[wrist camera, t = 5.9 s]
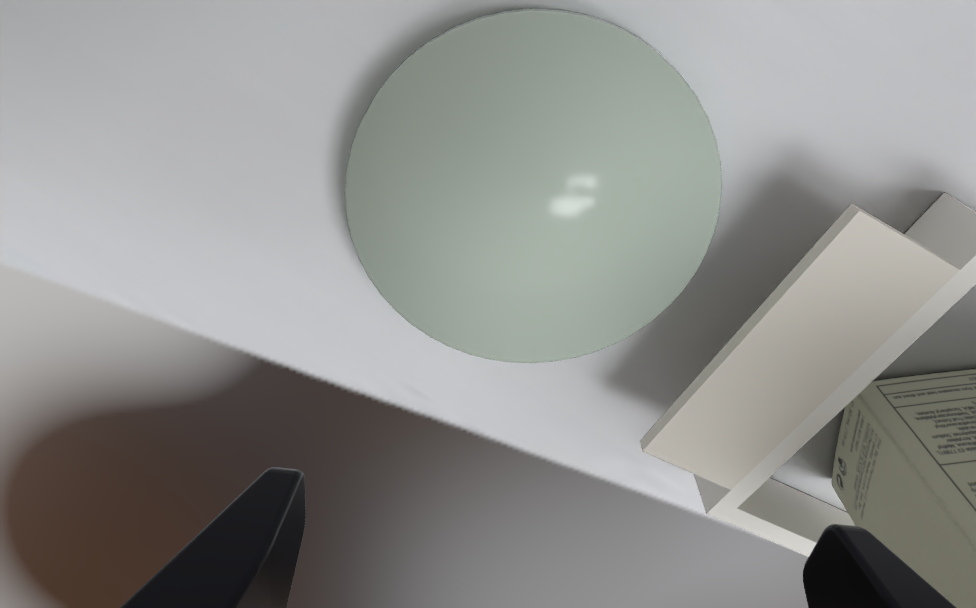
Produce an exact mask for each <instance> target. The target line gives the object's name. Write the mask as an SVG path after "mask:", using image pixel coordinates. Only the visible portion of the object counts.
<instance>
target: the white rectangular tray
mask: <svg viewBox="0 0 976 608" xmlns="http://www.w3.org/2000/svg"><path fill="white" fill-rule="evenodd" d="M975 285H976V211H974V210H972V209H971V208H969V207H968V206H966V205H964V204H963V203H961V202H960V201H958V200H956V199H955V198H953V197H952V196H950V195H948V194H947V193H945V192H944V193H943V194H942V195H941V196H940V198H939V199H938V200H937V201H936V202H935V203H934V204H933V205H932V206H931V207H930V208H929V209H928V210H927V211H926V212H925V213H924V214H923V215H922V216H921V217H920V218H919V219H918V220H917V221H916V223H915V224H914V225H913V226H912V227H911V228H910V229H909V230H908V231H907V232H906V233H905V234H903V233H901V232H899V231H898V230H896V229H894V228H893V227H891V226H889V225H888V224H886V223H884V222H883V221H881V220H879V219H878V218H876V217H874V216H872V215H871V214H869V213H867V212H866V211H864V210H862V209H861V208H859V207H857V206H856V205H854V204H852V203H851V204H850V206H849V207H848V208H847V209H846V210H845V211H844V212H843V213H842V215H841V216H840V217H839V218H838V219H837V220H836V221H835V222H834V223H833V225H832V226H831V227H830V228H829V229H828V230H827V231H826V232H825V234H824V235H823V236H822V237H821V238H820V239H819V240H818V241H817V243H816V244H815V245H814V246H813V247H812V248H811V249H810V250H809V252H808V253H807V254H806V255H805V256H804V257H803V258H802V259H801V261H800V262H799V263H798V264H797V265H796V266H795V267H794V268H793V270H792V271H791V272H790V273H789V274H788V275H787V276H786V277H785V279H784V280H783V281H782V282H781V283H780V284H779V285H778V286H777V287H776V289H775V290H774V291H773V292H772V293H771V294H770V295H769V296H768V298H767V299H766V300H765V301H764V302H763V303H762V304H761V305H760V307H759V308H758V309H757V310H756V311H755V312H754V313H753V314H752V316H751V317H750V318H749V319H748V320H747V321H746V322H745V323H744V325H743V326H742V327H741V328H740V329H739V330H738V331H737V332H736V334H735V335H734V336H733V337H732V338H731V339H730V340H729V341H728V343H727V344H726V345H725V346H724V347H723V348H722V349H721V350H720V351H719V353H718V354H717V355H716V356H715V357H714V358H713V359H712V360H711V362H710V363H709V364H708V365H707V366H706V367H705V368H704V369H703V371H702V372H701V373H700V374H699V375H698V376H697V377H696V378H695V380H694V381H693V382H692V383H691V384H690V385H689V386H688V387H687V389H686V390H685V391H684V392H683V393H682V394H681V395H680V396H679V398H678V399H677V400H676V401H675V402H674V403H673V404H672V405H671V407H670V408H669V409H668V410H667V411H666V412H665V413H664V414H663V415H662V417H661V418H660V419H659V420H658V421H657V422H656V423H655V424H654V426H653V427H652V428H651V429H650V430H649V431H648V432H647V433H646V435H645V436H644V437H643V438H642V439H641V440H640V444H641V448H642V451H643V452H645V453H648V454H650V455H652V456H654V457H657V458H659V459H661V460H663V461H666V462H668V463H670V464H673V465H675V466H677V467H679V468H682V469H684V470H686V471H689V472H691V473H693V474H694V477H695V480H696V483H697V486H698V489H699V492H700V495H701V498H702V501H703V505H704V508H705V511H706V514H708V515H710V516H713V517H715V518H717V519H720V520H722V521H725V522H727V523H729V524H732V525H734V526H736V527H739V528H741V529H743V530H746V531H748V532H751V533H753V534H755V535H758V536H760V537H762V538H765V539H767V540H769V541H772V542H774V543H777V544H779V545H781V546H784V547H786V548H788V549H791V550H793V551H795V552H798V553H800V554H803V555H805V556H807V557H809V556H810V554H811V552H812V550H813V548H814V547H815V545H816V543H817V541H818V540H819V538H820V536H821V534H822V532H823V531H824V529H825V528H826V527H828V526H829V525H831V524H840V525H850V526H855V524H854V522H853V521H852V519H851V517H850V515H849V514H848V513H847V512H845V511H842V510H840V509H838V508H836V507H834V506H831V505H829V504H827V503H825V502H822V501H820V500H818V499H816V498H814V497H811V496H809V495H807V494H805V493H803V492H800V491H798V490H796V489H794V488H791V487H789V486H787V485H785V484H783V483H780V482H778V481H776V480H774V479H771V478H770V477H771V476H772V475H773V474H774V473H775V472H776V471H777V470H778V469H779V468H780V467H781V466H782V465H783V464H785V463H786V462H787V461H788V460H789V459H790V458H791V457H792V456H793V455H794V454H795V453H796V452H797V451H798V450H800V449H801V448H802V447H803V446H804V445H805V444H806V443H807V442H808V441H809V440H810V439H811V438H812V437H813V436H814V435H816V434H817V433H818V432H819V431H820V430H821V429H822V428H823V427H824V426H825V425H826V424H827V423H828V422H829V421H830V420H832V419H833V418H834V417H835V416H836V415H837V414H838V413H839V412H840V411H841V410H842V409H843V408H844V407H845V406H847V405H848V404H849V403H850V402H851V401H852V400H853V399H854V398H855V397H856V396H857V395H858V394H859V393H860V392H861V391H863V390H864V389H865V388H866V387H867V386H868V385H869V384H870V383H871V382H872V381H873V380H874V379H875V378H876V377H877V376H879V375H880V374H881V373H882V372H883V371H884V370H885V369H886V368H887V367H888V366H889V365H890V364H891V363H892V362H894V361H895V360H896V359H897V358H898V357H899V356H900V355H901V354H902V353H903V352H904V351H905V350H906V349H907V348H908V347H910V346H911V345H912V344H913V343H914V342H915V341H916V340H917V339H918V338H919V337H920V336H921V335H922V334H923V333H924V332H926V331H927V330H928V329H929V328H930V327H931V326H932V325H933V324H934V323H935V322H936V321H937V320H938V319H939V318H941V317H942V316H943V315H944V314H945V313H946V312H947V311H948V310H949V309H950V308H951V307H952V306H953V305H954V304H955V303H957V302H958V301H959V300H960V299H961V298H962V297H963V296H964V295H965V294H966V293H967V292H968V291H969V290H970V289H972V288H973V287H974V286H975Z"/></svg>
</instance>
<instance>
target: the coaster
mask: <svg viewBox="0 0 976 608" xmlns="http://www.w3.org/2000/svg"><path fill="white" fill-rule="evenodd" d="M721 189H722V181H721V163H720V158H719V153H718V148H717V143H716V139H715V136H714V133H713V130H712V128H711V125H710V122H709V119H708V117H707V115H706V113H705V111H704V109H703V107H702V106H701V104H700V102H699V100H698V98H697V96H696V95H695V93H694V92H693V91H692V89H691V88H690V87H689V85H688V84H687V83H686V81H685V80H684V79H683V77H682V76H681V75H680V74H679V73H678V72H677V70H676V69H675V68H674V67H673V66H672V65H671V64H670V63H669V62H668V61H666V60H665V59H664V58H663V57H662V56H661V55H660V54H659V53H658V52H657V51H656V50H655V49H653V48H652V47H651V46H649V45H648V44H646V43H645V42H644V41H642V40H641V39H640V38H638V37H637V36H635V35H634V34H632V33H630V32H628V31H626V30H624V29H622V28H620V27H618V26H616V25H614V24H612V23H610V22H607V21H604V20H601V19H598V18H595V17H592V16H589V15H586V14H581V13H576V12H570V11H565V10H560V9H538V8H529V9H519V10H509V11H502V12H498V13H494V14H490V15H486V16H482V17H478V18H475V19H473V20H470V21H468V22H465V23H462V24H460V25H457V26H455V27H452V28H451V29H449V30H447V31H445V32H444V33H442V34H440V35H438V36H437V37H435V38H433V39H431V40H430V41H428V42H427V43H426V44H424V45H423V46H422V47H420V48H419V49H418V50H417V51H415V52H414V53H413V54H411V55H410V56H409V57H408V58H407V59H406V60H405V61H404V62H403V63H402V64H401V65H400V66H399V67H398V68H397V69H396V70H395V71H394V72H393V73H392V74H391V75H390V77H389V78H388V79H387V81H386V82H385V83H384V85H383V86H382V87H381V89H380V90H379V91H378V93H377V94H376V96H375V97H374V99H373V101H372V102H371V104H370V106H369V108H368V110H367V112H366V114H365V115H364V117H363V119H362V121H361V123H360V125H359V128H358V131H357V133H356V136H355V139H354V141H353V144H352V147H351V152H350V156H349V161H348V166H347V171H346V186H345V200H346V213H347V220H348V224H349V229H350V233H351V238H352V241H353V243H354V246H355V249H356V252H357V254H358V257H359V259H360V261H361V263H362V265H363V267H364V269H365V271H366V273H367V275H368V276H369V278H370V280H371V281H372V282H373V284H374V285H375V287H376V288H377V290H378V291H379V292H380V294H381V295H382V296H383V297H384V298H385V300H386V301H387V302H388V303H389V304H390V305H391V306H392V307H393V308H394V309H395V311H397V312H398V313H399V314H400V315H401V316H402V317H404V318H405V319H406V320H407V321H408V322H409V323H411V324H412V325H413V326H415V327H416V328H418V329H419V330H421V331H422V332H424V333H425V334H427V335H428V336H430V337H431V338H433V339H435V340H437V341H439V342H441V343H443V344H445V345H447V346H449V347H452V348H454V349H457V350H460V351H462V352H465V353H468V354H471V355H475V356H479V357H483V358H487V359H492V360H499V361H505V362H519V363H538V362H553V361H559V360H564V359H570V358H575V357H579V356H582V355H586V354H589V353H593V352H596V351H598V350H601V349H603V348H605V347H608V346H610V345H613V344H615V343H617V342H619V341H621V340H623V339H624V338H626V337H628V336H630V335H632V334H634V333H635V332H637V331H638V330H640V329H641V328H642V327H644V326H645V325H647V324H648V323H650V322H651V321H652V320H654V319H655V318H656V317H657V316H658V315H659V314H660V313H662V312H663V311H664V310H665V309H666V308H667V307H668V306H669V305H670V304H671V303H672V302H673V301H674V300H675V299H676V298H677V297H678V295H679V294H680V293H681V292H682V291H683V290H684V288H685V287H686V286H687V284H688V283H689V281H690V280H691V279H692V277H693V276H694V274H695V273H696V271H697V269H698V268H699V266H700V264H701V262H702V260H703V258H704V256H705V255H706V253H707V250H708V247H709V245H710V242H711V239H712V237H713V234H714V232H715V227H716V223H717V219H718V214H719V210H720V200H721Z"/></svg>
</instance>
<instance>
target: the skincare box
mask: <svg viewBox="0 0 976 608" xmlns="http://www.w3.org/2000/svg"><path fill="white" fill-rule="evenodd" d="M832 486H833V488H834V490H835V491H836V493H837V495H838V497H839V498H840V500H841V502H842V503H843V505H844V507H845V508H846V510H847V512H848V514H849V515H850V517H851V519H852V521H853V522H854V524H855V526H859V527H862V528H864V529H866V530H867V531H869V532H870V533H871V534H872V535H874V536H875V537H876V538H877V539H878V540H879V541H881V542H882V543H883V544H884V545H885V546H886V547H887V548H889V549H890V550H891V551H892V552H893V553H894V554H895V555H897V556H898V557H899V558H900V559H901V560H902V561H904V562H905V563H906V564H907V565H908V566H909V567H910V568H912V569H913V570H914V571H915V572H916V573H917V574H918V575H920V576H921V577H922V578H923V579H924V580H925V581H927V582H928V583H929V584H930V585H931V586H932V587H933V588H935V589H936V590H937V591H938V592H939V593H940V594H941V595H943V596H944V597H945V598H946V599H947V600H948V601H949V602H951V603H952V604H953V605H954V606H955V607H956V608H976V369H971V370H962V371H952V372H943V373H934V374H926V375H916V376H909V377H900V378H892V379H886V380H877V381H872V382H871V383H870V384H869V385H868V386H867V387H866V388H865V389H864V390H863V391H861V392H860V393H859V394H858V395H857V396H856V397H855V398H854V399H853V400H852V401H851V402H850V403H849V404H848V405H847V406H845V409H844V413H843V418H842V422H841V427H840V432H839V437H838V442H837V448H836V453H835V460H834V467H833V475H832Z"/></svg>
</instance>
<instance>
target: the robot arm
mask: <svg viewBox="0 0 976 608" xmlns="http://www.w3.org/2000/svg"><path fill="white" fill-rule="evenodd" d="M305 515H306V509H305V477H304V474H303V472H302V471H300V470H297V469H286V468H277V467H272V468H269V469H267V470H266V471H265V472H264V473H262V474H261V476H259V477H258V478H257V479H256V480H255V481H254V482H253V483H252V484H251V485H250V486H249V487H248V488H247V489H245V491H243V492H242V493H241V494H240V495H239V496H238V497H237V498H236V499H235V500H234V501H233V502H232V503H231V504H230V505H229V506H227V507H226V508H225V509H224V510H223V511H222V512H221V513H220V514H219V515H218V516H217V517H216V518H215V519H214V520H213V521H212V522H210V523H209V524H208V525H207V526H206V527H205V528H204V529H203V530H202V531H201V532H200V533H199V534H198V535H197V536H196V537H194V538H193V539H192V540H191V541H190V542H189V543H188V544H187V545H186V546H185V547H184V548H183V549H182V550H181V551H180V552H179V553H178V554H177V555H176V556H175V557H173V558H172V559H171V560H170V561H169V562H168V563H167V564H166V565H165V566H164V567H163V568H162V569H160V570H159V571H158V572H157V573H156V574H155V575H154V576H153V577H152V578H151V579H150V580H149V581H148V582H147V583H146V584H145V585H144V586H142V587H141V588H140V589H139V590H138V591H137V592H136V593H135V594H134V595H133V596H132V597H131V598H130V599H129V600H128V601H126V602H125V603H124V604H123V605H122V606H121V607H120V608H287V603H288V599H289V594H290V590H291V585H292V581H293V577H294V573H295V568H296V564H297V560H298V555H299V551H300V547H301V542H302V538H303V533H304V528H305V518H306V516H305ZM803 583H804V588H805V593H806V598H807V602H808V607H809V608H956V607H955V606H954V605H953V604H952V603H951V602H949V601H948V600H947V599H946V598H945V597H944V596H943V595H941V594H940V593H939V592H938V591H937V590H936V589H935V588H933V587H932V586H931V585H930V584H929V583H928V582H927V581H925V580H924V579H923V578H922V577H921V576H920V575H918V574H917V573H916V572H915V571H914V570H913V569H912V568H910V567H909V566H908V565H907V564H906V563H905V562H904V561H902V560H901V559H900V558H899V557H898V556H897V555H895V554H894V553H893V552H892V551H891V550H890V549H889V548H887V547H886V546H885V545H884V544H883V543H882V542H881V541H879V540H878V539H877V538H876V537H875V536H874V535H872V534H871V533H870V532H869V531H867V530H866V529H864V528H862V527H859V526H850V525H840V524H831V525H829V526H828V527H826V528H825V529H824V531H823V532H822V534H821V536H820V538H819V540H818V541H817V543H816V545H815V547H814V548H813V550H812V552H811V554H810V556H809V557H808V559H807V561H806V563H805V566H804V570H803Z"/></svg>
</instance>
